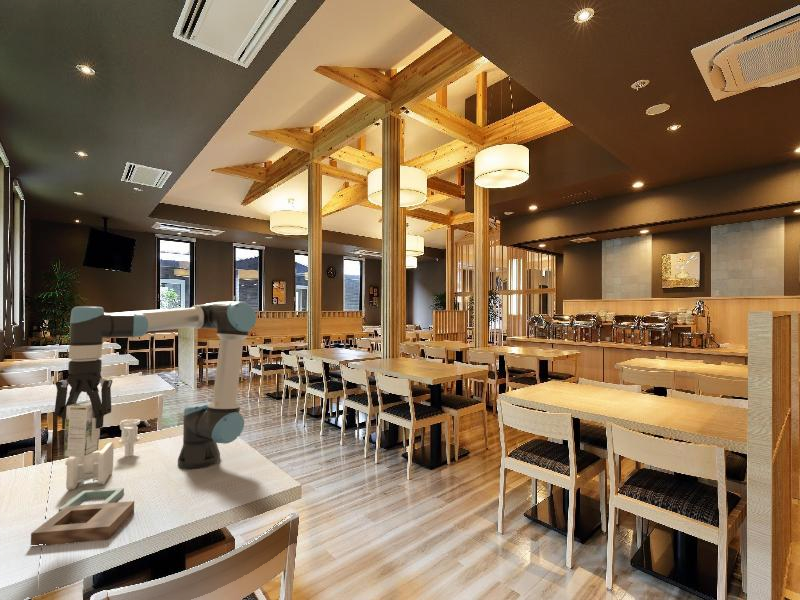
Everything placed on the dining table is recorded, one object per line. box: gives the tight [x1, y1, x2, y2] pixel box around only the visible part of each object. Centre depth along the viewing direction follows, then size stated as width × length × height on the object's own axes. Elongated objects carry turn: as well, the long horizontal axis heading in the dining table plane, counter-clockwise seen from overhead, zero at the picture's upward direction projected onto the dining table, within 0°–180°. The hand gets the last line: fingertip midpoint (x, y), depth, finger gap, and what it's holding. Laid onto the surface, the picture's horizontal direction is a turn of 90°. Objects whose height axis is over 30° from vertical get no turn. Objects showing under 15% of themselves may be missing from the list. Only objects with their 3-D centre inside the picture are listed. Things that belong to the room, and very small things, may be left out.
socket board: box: [30, 500, 135, 546], centre depth 110 cm, size 18×14×4 cm
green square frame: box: [58, 487, 125, 512], centre depth 124 cm, size 12×12×2 cm
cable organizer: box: [64, 441, 114, 491], centre depth 140 cm, size 15×11×12 cm
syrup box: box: [63, 400, 100, 458], centre depth 114 cm, size 6×6×14 cm
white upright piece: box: [118, 419, 141, 457], centre depth 165 cm, size 7×7×15 cm
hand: (82, 439), depth 114 cm, fingers closed on syrup box, 6 cm apart
